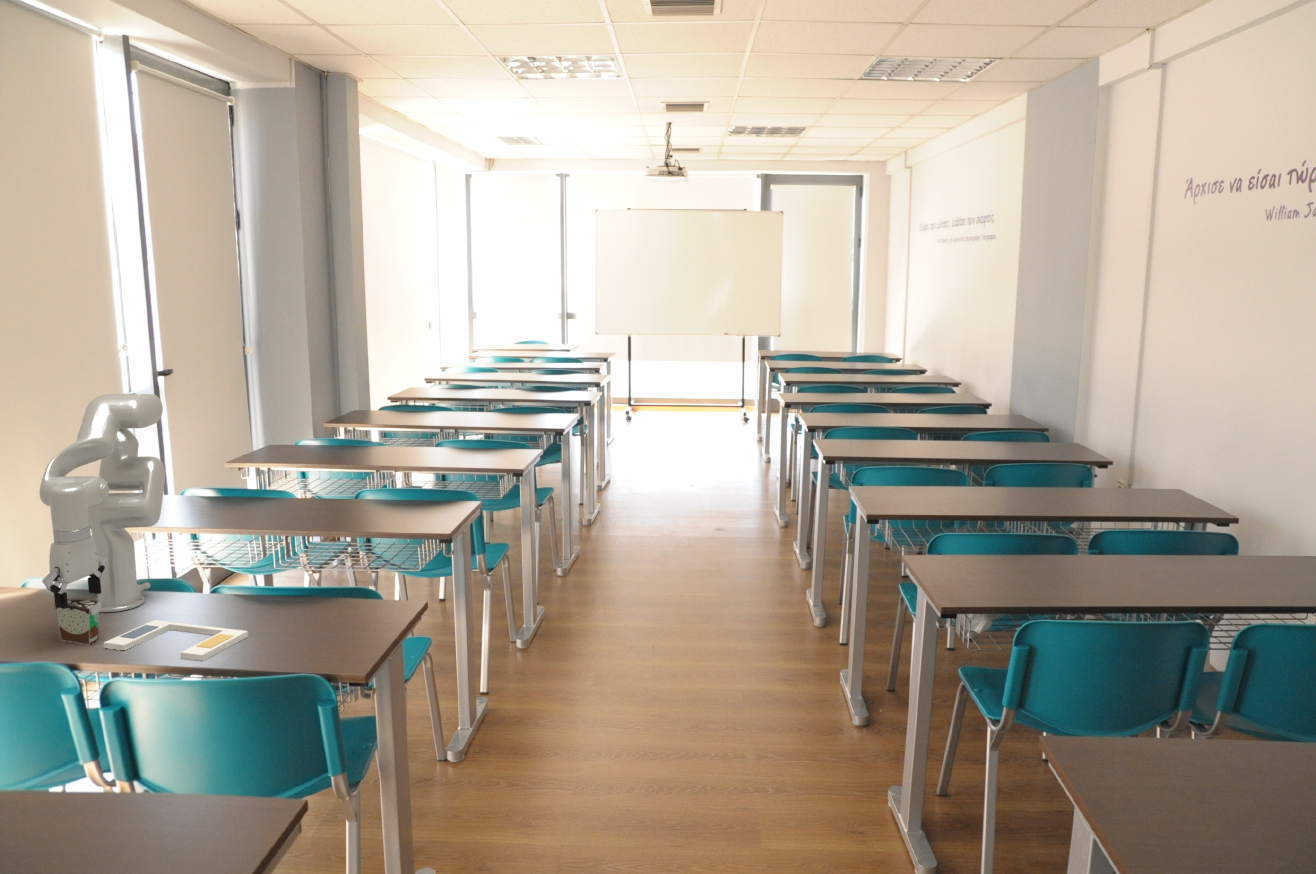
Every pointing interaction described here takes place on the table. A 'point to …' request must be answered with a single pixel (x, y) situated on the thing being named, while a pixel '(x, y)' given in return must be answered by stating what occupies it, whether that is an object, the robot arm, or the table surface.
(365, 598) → the table surface
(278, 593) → the table surface
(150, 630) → the label board
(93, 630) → the food container
